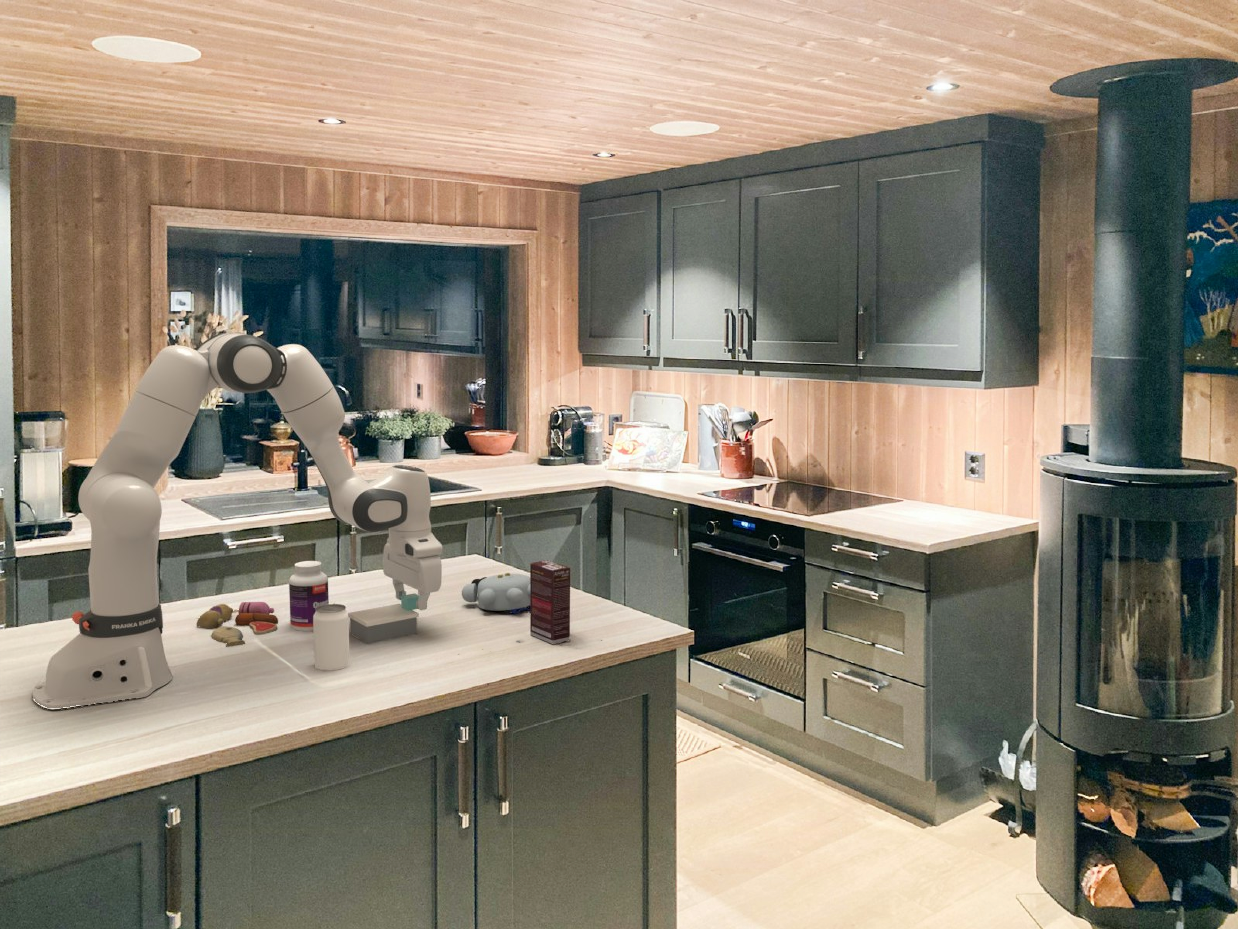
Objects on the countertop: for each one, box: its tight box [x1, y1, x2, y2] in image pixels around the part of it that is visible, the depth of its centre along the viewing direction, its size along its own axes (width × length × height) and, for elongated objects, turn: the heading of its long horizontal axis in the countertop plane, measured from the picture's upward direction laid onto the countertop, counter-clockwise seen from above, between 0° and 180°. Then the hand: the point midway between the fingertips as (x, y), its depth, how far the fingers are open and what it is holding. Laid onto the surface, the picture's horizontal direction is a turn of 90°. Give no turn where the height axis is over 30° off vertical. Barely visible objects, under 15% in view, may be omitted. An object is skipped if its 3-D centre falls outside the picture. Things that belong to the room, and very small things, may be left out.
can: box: [312, 603, 350, 671], centre depth 193 cm, size 6×6×12 cm
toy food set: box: [196, 601, 279, 648], centre depth 220 cm, size 26×16×4 cm, turn 41°
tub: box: [349, 617, 418, 645], centre depth 213 cm, size 11×8×4 cm
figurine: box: [461, 572, 530, 615], centre depth 238 cm, size 17×8×20 cm
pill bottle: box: [288, 560, 330, 632], centre depth 218 cm, size 8×8×14 cm
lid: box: [347, 592, 419, 627], centre depth 213 cm, size 14×9×4 cm, turn 129°
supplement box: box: [529, 559, 571, 645], centre depth 213 cm, size 9×5×16 cm, turn 39°
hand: (411, 604), depth 216 cm, fingers open, 8 cm apart
